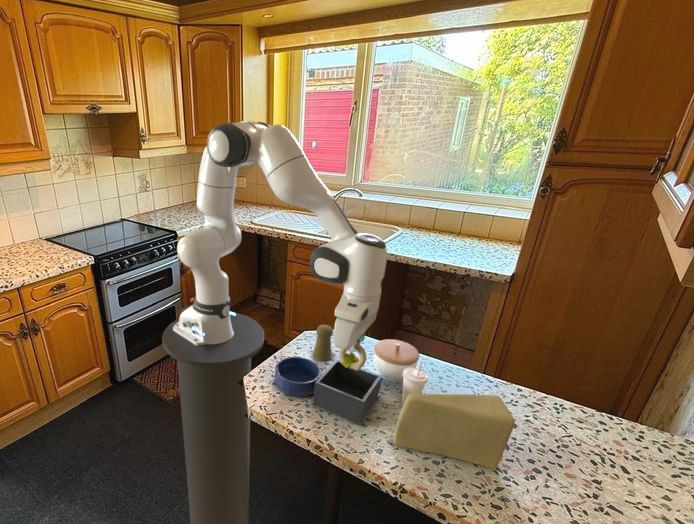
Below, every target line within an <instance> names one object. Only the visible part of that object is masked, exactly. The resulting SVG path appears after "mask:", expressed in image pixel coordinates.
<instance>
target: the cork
mask: <svg viewBox="0 0 694 524" xmlns="http://www.w3.org/2000/svg"><path fill="white" fill-rule="evenodd" d="M333 329H334V328H333V327H332V326H330V325H328V324H320V325H318V326H317V328H316V334H317V337H316V341H315V345H314V348H313V351H312V356H313V358H314V359H315V360H317V361H322V362H326V361H327V362H328V361H330V360H331V359H332V336H333V335H334V330H333Z"/></svg>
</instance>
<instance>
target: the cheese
mask: <svg viewBox="0 0 694 524" xmlns="http://www.w3.org/2000/svg"><path fill="white" fill-rule="evenodd" d="M515 424H516V420H515V418H514V416H513V414H512V413H511V412H510V410H509V408H508V407H507V405H506V404H505V401H504V400H503V399H502V398H501V396H499V395H498V394H475V393H474V394H473V393H470V394H469V393H421V394H409V395H408V396H407V397H406V399H405V402H404V404H403V403H402V408H401V409H400V412H399V414H398V417H397V420H396V424H395V429H394V433H393V438H392V442H393V444H394V446H397V447H401V448H404V449H405V448H406V449H410V450H415V451H418V452H423V453H429V454H433V455H437V456H441V457H447V458H451V459H455V460H459V461H463V462H467V463H471V464H475V465H478V466H482V467H485V468H489V469H494V470H495V469H497V468H498V465H499V463H500V461H501V459H502V457H503V454H504V452H505V449H506V447H507V444H508V442H509V440H510V437H511V435H512V432H513V430H514V427H515Z"/></svg>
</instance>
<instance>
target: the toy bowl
mask: <svg viewBox="0 0 694 524" xmlns="http://www.w3.org/2000/svg"><path fill="white" fill-rule="evenodd" d="M321 376H322V369H321V367H320V366H319V364H318V363H316V362H315V361H314V360H311V359H308V358H306V357H302V356H290V357H285V358H282V359H281V360H279V361H278V362H277V363H276V365H275V368H274V384H275V386H276V388H277V390H279V391H280V392H281V393H283V394H285V395H286V396H287V395H288V396H290V397H296V398H303V397H309V396H312V395H314V389H315V382H316V381H317V380H318V379H319V378H320V377H321Z"/></svg>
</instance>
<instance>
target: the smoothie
mask: <svg viewBox="0 0 694 524" xmlns="http://www.w3.org/2000/svg"><path fill="white" fill-rule="evenodd" d="M422 365H423V361H422V360H420V361H419V364H418V368H417V367H415V368H407V369H405V370H404V371H403V377H404V378H403V380H402V392H401V393H402V395H401V403H402V405H403V404H404V402H405V399H406V397H407V396H408V395H409V394H422V392H423V390H424V388H425V385H426V384H427V383H428V382H429V375H428V373H427V372H426V371H424V370H422V369H421V368H422Z"/></svg>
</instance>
